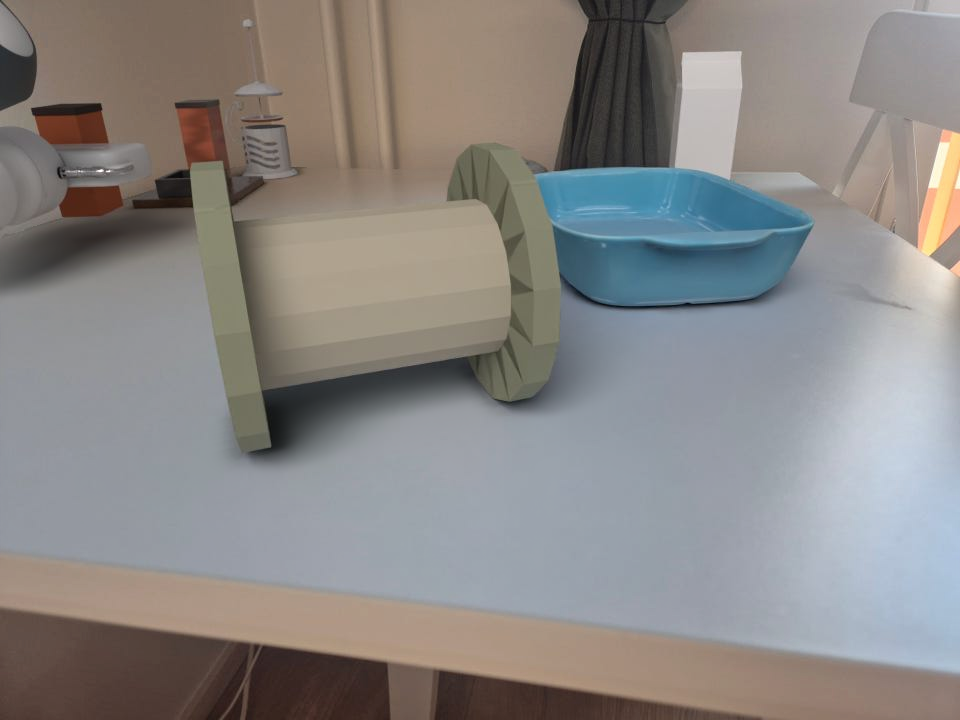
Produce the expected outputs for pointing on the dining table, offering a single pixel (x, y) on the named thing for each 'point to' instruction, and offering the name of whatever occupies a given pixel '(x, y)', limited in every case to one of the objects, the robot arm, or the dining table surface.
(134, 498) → the dining table surface
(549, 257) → the spool
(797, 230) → the casserole dish
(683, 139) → the milk carton
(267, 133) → the french press
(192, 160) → the pad dock
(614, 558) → the dining table surface
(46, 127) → the loose pad
